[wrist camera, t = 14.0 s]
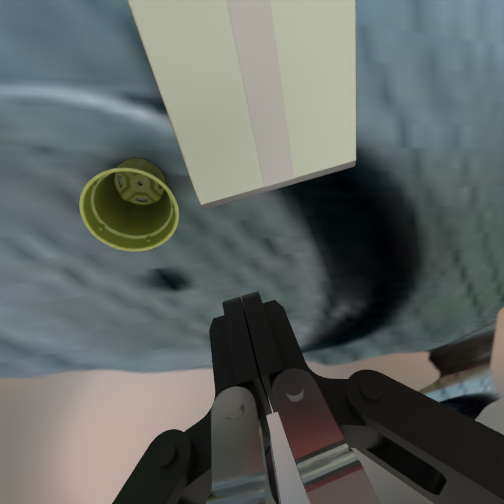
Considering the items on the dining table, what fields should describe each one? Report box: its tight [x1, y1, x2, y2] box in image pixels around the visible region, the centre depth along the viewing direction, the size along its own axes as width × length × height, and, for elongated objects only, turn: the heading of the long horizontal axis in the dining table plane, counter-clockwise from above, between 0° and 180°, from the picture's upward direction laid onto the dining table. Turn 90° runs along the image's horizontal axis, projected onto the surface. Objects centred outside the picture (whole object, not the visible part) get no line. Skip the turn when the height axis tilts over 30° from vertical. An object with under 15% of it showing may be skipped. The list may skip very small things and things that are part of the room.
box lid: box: [129, 0, 356, 210], centre depth 24 cm, size 16×17×1 cm
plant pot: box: [79, 158, 179, 251], centre depth 33 cm, size 9×9×9 cm
